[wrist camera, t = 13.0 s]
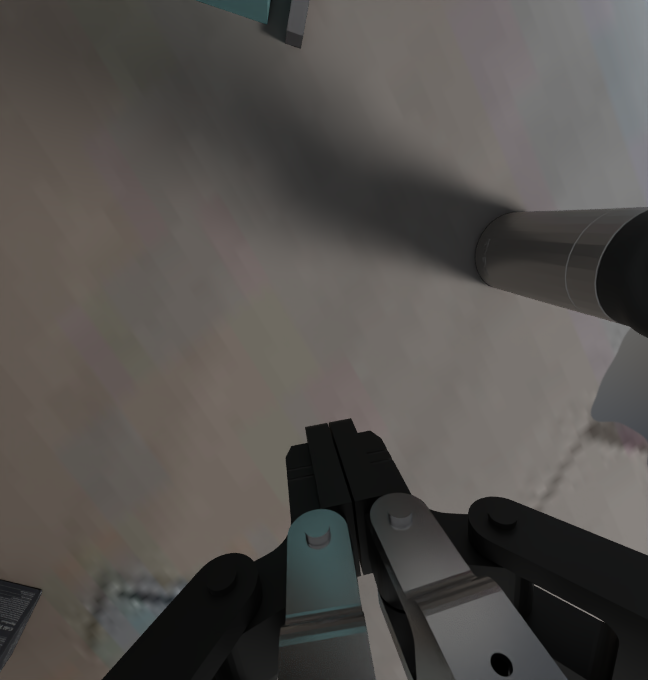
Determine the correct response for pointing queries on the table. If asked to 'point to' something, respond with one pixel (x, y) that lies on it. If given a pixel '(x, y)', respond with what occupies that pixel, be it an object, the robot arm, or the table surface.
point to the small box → (14, 615)
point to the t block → (244, 8)
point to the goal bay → (296, 22)
